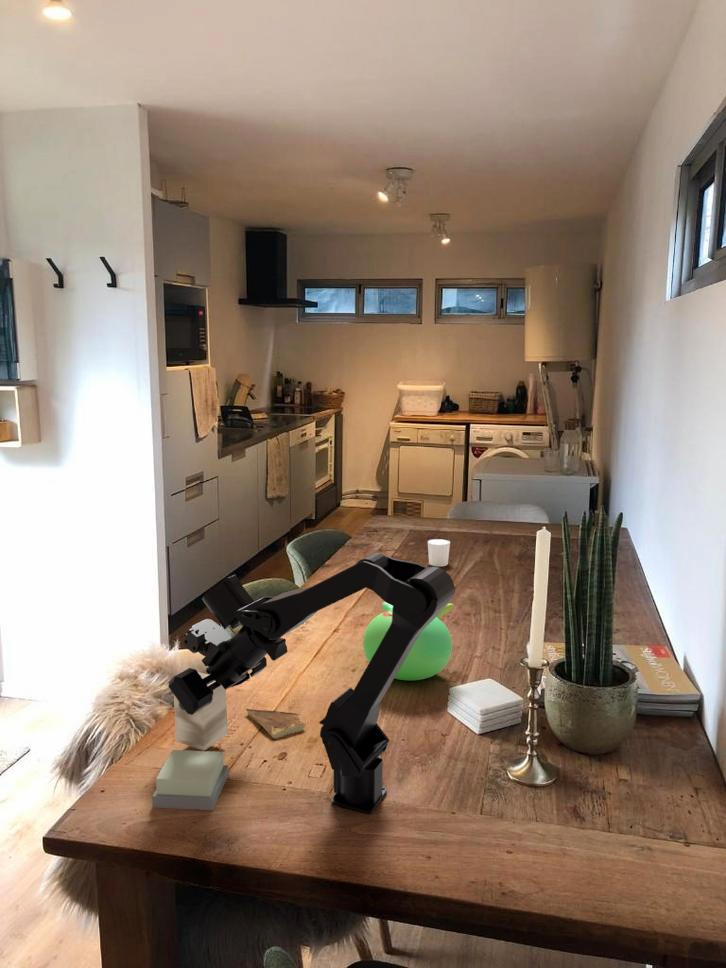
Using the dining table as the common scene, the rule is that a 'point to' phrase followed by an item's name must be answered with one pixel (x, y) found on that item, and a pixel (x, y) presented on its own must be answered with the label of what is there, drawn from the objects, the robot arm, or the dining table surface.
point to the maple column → (202, 721)
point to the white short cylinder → (438, 552)
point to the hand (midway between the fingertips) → (193, 699)
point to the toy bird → (426, 651)
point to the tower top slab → (190, 773)
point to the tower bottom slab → (192, 797)
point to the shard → (277, 722)
